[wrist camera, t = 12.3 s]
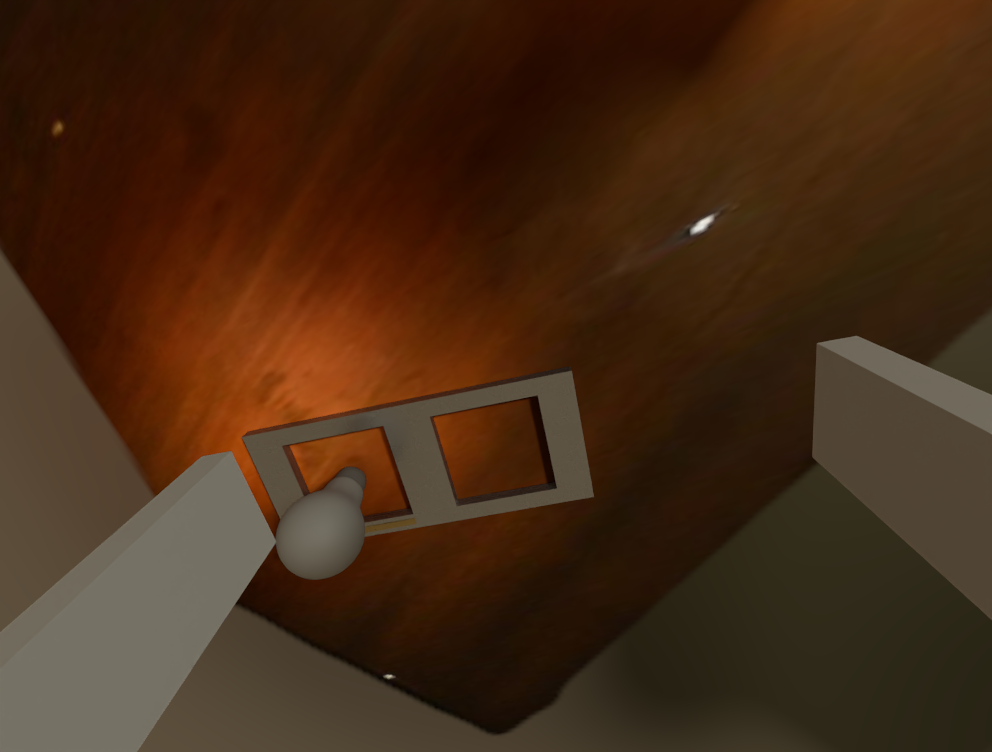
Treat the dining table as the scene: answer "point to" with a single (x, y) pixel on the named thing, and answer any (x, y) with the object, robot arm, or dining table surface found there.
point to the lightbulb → (324, 528)
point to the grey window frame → (436, 452)
